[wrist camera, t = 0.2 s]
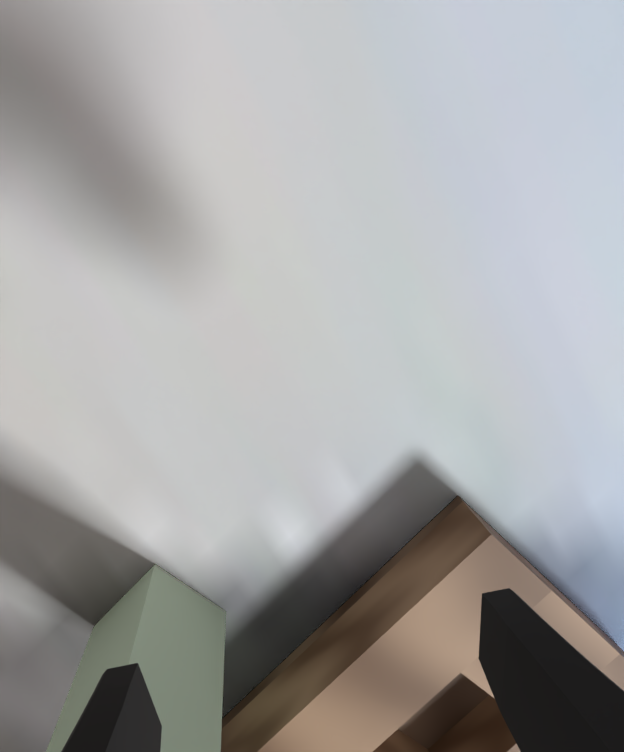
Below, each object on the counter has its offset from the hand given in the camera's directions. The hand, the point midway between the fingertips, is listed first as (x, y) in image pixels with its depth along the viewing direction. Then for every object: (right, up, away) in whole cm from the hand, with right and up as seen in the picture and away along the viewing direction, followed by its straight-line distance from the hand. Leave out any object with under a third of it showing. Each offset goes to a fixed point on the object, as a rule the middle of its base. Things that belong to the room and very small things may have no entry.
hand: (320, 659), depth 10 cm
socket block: (+6, -10, +14) cm, 18 cm away
